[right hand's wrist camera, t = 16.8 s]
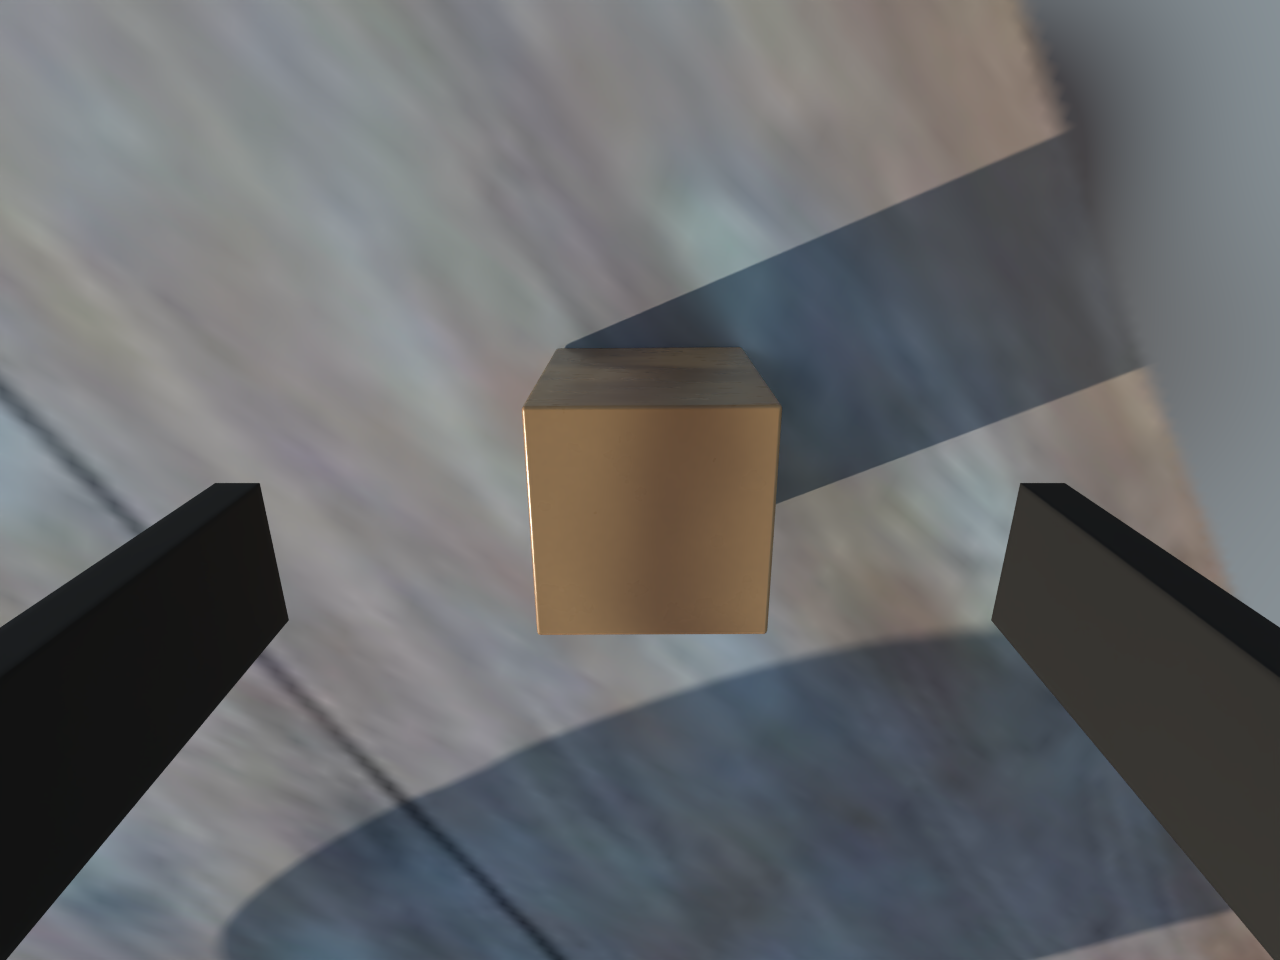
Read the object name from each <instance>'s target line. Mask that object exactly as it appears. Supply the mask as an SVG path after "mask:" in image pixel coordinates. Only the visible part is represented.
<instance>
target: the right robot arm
mask: <svg viewBox="0 0 1280 960" xmlns="http://www.w3.org/2000/svg"><path fill="white" fill-rule="evenodd" d="M288 620H289V619H288V615H287V610H286V605H285V600H284V596H283V591H282V586H281V582H280V577H279V572H278V567H277V563H276V558H275V553H274V549H273V544H272V539H271V534H270V530H269V525H268V520H267V516H266V511H265V506H264V501H263V497H262V492H261V487H260V483H215V484H213V485H212V486H210V487H209V488H207V489H206V490H204V491H203V492H201V493H200V494H198V495H197V496H195V497H194V498H192V499H191V500H190V501H188V502H187V503H185V504H184V505H182V506H181V507H179V508H178V509H176V510H175V511H173V512H172V513H170V514H169V515H167V516H166V517H164V518H163V519H161V520H160V521H158V522H157V523H155V524H154V525H152V526H151V527H149V528H148V529H146V530H145V531H143V532H142V533H140V534H139V535H137V536H136V537H134V538H133V539H131V540H130V541H128V542H127V543H125V544H124V545H122V546H121V547H120V548H118V549H117V550H115V551H114V552H112V553H111V554H109V555H108V556H106V557H105V558H103V559H102V560H100V561H99V562H97V563H96V564H94V565H93V566H91V567H90V568H88V569H87V570H85V571H84V572H82V573H81V574H79V575H78V576H76V577H75V578H73V579H72V580H70V581H69V582H67V583H66V584H64V585H63V586H61V587H60V588H58V589H57V590H55V591H54V592H52V593H51V594H50V595H48V596H47V597H45V598H44V599H42V600H41V601H39V602H38V603H36V604H35V605H33V606H32V607H30V608H29V609H27V610H26V611H24V612H23V613H21V614H20V615H18V616H17V617H15V618H14V619H12V620H11V621H9V622H8V623H6V624H5V625H3V626H2V627H0V960H6V959H7V958H8V957H9V956H10V955H11V953H12V952H13V951H14V950H15V949H16V947H17V946H18V945H19V944H20V942H21V941H22V940H23V939H24V938H25V936H26V935H27V934H28V933H29V932H30V930H31V929H32V928H33V927H34V926H35V924H36V923H37V922H38V921H39V920H40V918H41V917H42V916H43V915H44V914H45V912H46V911H47V910H48V909H49V908H50V906H51V905H52V904H53V903H54V902H55V900H56V899H57V898H58V897H59V896H60V894H61V893H62V892H63V891H64V890H65V888H66V887H67V886H68V885H69V884H70V882H71V881H72V880H73V879H74V878H75V876H76V875H77V874H78V873H79V872H80V870H81V869H82V868H83V867H84V866H85V864H86V863H87V862H88V861H89V860H90V858H91V857H92V856H93V855H94V854H95V852H96V851H97V850H98V849H99V848H100V846H101V845H102V844H103V843H104V842H105V840H106V839H107V838H108V837H109V836H110V834H111V833H112V832H113V831H114V830H115V828H116V827H117V826H118V825H119V824H120V822H121V821H122V820H123V819H124V818H125V816H126V815H127V814H128V813H129V811H130V810H131V809H132V808H133V807H134V805H135V804H136V803H137V802H138V801H139V799H140V798H141V797H142V796H143V795H144V793H145V792H146V791H147V790H148V789H149V787H150V786H151V785H152V784H153V783H154V781H155V780H156V779H157V778H158V777H159V775H160V774H161V773H162V772H163V771H164V769H165V768H166V767H167V766H168V765H169V763H170V762H171V761H172V760H173V759H174V757H175V756H176V755H177V754H178V753H179V751H180V750H181V749H182V748H183V747H184V745H185V744H186V743H187V742H188V741H189V739H190V738H191V737H192V736H193V735H194V733H195V732H196V731H197V730H198V729H199V727H200V726H201V725H202V724H203V723H204V721H205V720H206V719H207V718H208V717H209V715H210V714H211V713H212V712H213V711H214V709H215V708H216V707H217V706H218V705H219V703H220V702H221V701H222V700H223V699H224V697H225V696H226V695H227V694H228V693H229V691H230V690H231V689H232V688H233V687H234V685H235V684H236V683H237V682H238V681H239V679H240V678H241V677H242V676H243V674H244V673H245V672H246V671H247V670H248V668H249V667H250V666H251V665H252V664H253V662H254V661H255V660H256V659H257V658H258V656H259V655H260V654H261V653H262V652H263V650H264V649H265V648H266V647H267V646H268V644H269V643H270V642H271V641H272V640H273V638H274V637H275V636H276V635H277V634H278V632H279V631H280V630H281V629H282V628H283V626H284V625H285V624H286V623H287V622H288ZM991 620H992V622H993V623H994V624H995V625H996V626H997V628H998V629H999V630H1000V631H1001V632H1002V634H1003V635H1004V636H1005V637H1006V638H1007V640H1008V641H1009V642H1010V643H1011V644H1012V646H1013V647H1014V648H1015V649H1016V650H1017V652H1018V653H1019V654H1020V655H1021V656H1022V658H1023V659H1024V660H1025V661H1026V662H1027V664H1028V665H1029V666H1030V667H1031V668H1032V670H1033V671H1034V672H1035V673H1036V675H1037V676H1038V677H1039V678H1040V679H1041V681H1042V682H1043V683H1044V684H1045V685H1046V687H1047V688H1048V689H1049V690H1050V691H1051V693H1052V694H1053V695H1054V696H1055V697H1056V699H1057V700H1058V701H1059V702H1060V703H1061V705H1062V706H1063V707H1064V708H1065V709H1066V711H1067V712H1068V713H1069V714H1070V715H1071V717H1072V718H1073V719H1074V720H1075V721H1076V723H1077V724H1078V725H1079V726H1080V727H1081V729H1082V730H1083V731H1084V732H1085V733H1086V735H1087V736H1088V737H1089V738H1090V739H1091V741H1092V742H1093V743H1094V744H1095V745H1096V747H1097V748H1098V749H1099V750H1100V751H1101V753H1102V754H1103V755H1104V756H1105V757H1106V759H1107V760H1108V761H1109V762H1110V763H1111V765H1112V766H1113V767H1114V768H1115V769H1116V771H1117V772H1118V773H1119V774H1120V775H1121V777H1122V778H1123V779H1124V780H1125V781H1126V783H1127V784H1128V785H1129V786H1130V787H1131V789H1132V790H1133V791H1134V792H1135V793H1136V795H1137V796H1138V797H1139V798H1140V799H1141V801H1142V802H1143V803H1144V804H1145V805H1146V807H1147V808H1148V809H1149V810H1150V812H1151V813H1152V814H1153V815H1154V816H1155V818H1156V819H1157V820H1158V821H1159V822H1160V824H1161V825H1162V826H1163V827H1164V828H1165V830H1166V831H1167V832H1168V833H1169V834H1170V836H1171V837H1172V838H1173V839H1174V840H1175V842H1176V843H1177V844H1178V845H1179V846H1180V848H1181V849H1182V850H1183V851H1184V852H1185V854H1186V855H1187V856H1188V857H1189V858H1190V860H1191V861H1192V862H1193V863H1194V864H1195V866H1196V867H1197V868H1198V869H1199V870H1200V872H1201V873H1202V874H1203V875H1204V876H1205V878H1206V879H1207V880H1208V881H1209V882H1210V884H1211V885H1212V886H1213V887H1214V888H1215V890H1216V891H1217V892H1218V893H1219V894H1220V896H1221V897H1222V898H1223V899H1224V900H1225V902H1226V903H1227V904H1228V905H1229V906H1230V908H1231V909H1232V910H1233V911H1234V912H1235V914H1236V915H1237V916H1238V917H1239V918H1240V920H1241V921H1242V922H1243V923H1244V924H1245V926H1246V927H1247V928H1248V929H1249V930H1250V932H1251V933H1252V934H1253V935H1254V936H1255V938H1256V939H1257V940H1258V941H1259V942H1260V944H1261V945H1262V946H1263V947H1264V949H1265V950H1266V951H1267V952H1268V953H1269V955H1270V956H1271V957H1272V958H1273V959H1274V960H1280V627H1278V626H1277V625H1275V624H1274V623H1272V622H1271V621H1269V620H1268V619H1266V618H1265V617H1263V616H1262V615H1260V614H1259V613H1257V612H1256V611H1254V610H1253V609H1251V608H1250V607H1248V606H1247V605H1245V604H1244V603H1242V602H1241V601H1239V600H1238V599H1236V598H1235V597H1233V596H1232V595H1230V594H1229V593H1228V592H1226V591H1225V590H1223V589H1222V588H1220V587H1219V586H1217V585H1216V584H1214V583H1213V582H1211V581H1210V580H1208V579H1207V578H1205V577H1204V576H1202V575H1201V574H1199V573H1198V572H1196V571H1195V570H1193V569H1192V568H1190V567H1189V566H1187V565H1186V564H1184V563H1183V562H1181V561H1180V560H1178V559H1177V558H1175V557H1174V556H1172V555H1171V554H1169V553H1168V552H1166V551H1165V550H1163V549H1162V548H1160V547H1159V546H1158V545H1156V544H1155V543H1153V542H1152V541H1150V540H1149V539H1147V538H1146V537H1144V536H1143V535H1141V534H1140V533H1138V532H1137V531H1135V530H1134V529H1132V528H1131V527H1129V526H1128V525H1126V524H1125V523H1123V522H1122V521H1120V520H1119V519H1117V518H1116V517H1114V516H1113V515H1111V514H1110V513H1108V512H1107V511H1105V510H1104V509H1102V508H1101V507H1099V506H1098V505H1096V504H1095V503H1093V502H1092V501H1090V500H1089V499H1088V498H1086V497H1085V496H1083V495H1082V494H1080V493H1079V492H1077V491H1076V490H1074V489H1073V488H1071V487H1070V486H1068V485H1067V484H1065V483H1020V487H1019V492H1018V497H1017V501H1016V506H1015V511H1014V516H1013V520H1012V525H1011V530H1010V534H1009V539H1008V544H1007V549H1006V553H1005V558H1004V563H1003V567H1002V572H1001V577H1000V582H999V586H998V591H997V596H996V600H995V605H994V610H993V614H992V619H991Z"/></svg>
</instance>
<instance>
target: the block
mask: <svg viewBox="0 0 1280 960" xmlns="http://www.w3.org/2000/svg"><path fill="white" fill-rule="evenodd" d="M781 418H782V406H781V404H780V403H779V401H778V400H777V399H776V397H775V396H774V394H773V393H772V391H771V390H770V388H769V387H768V385H767V384H766V383H765V381H764V380H763V378H762V377H761V375H760V374H759V372H758V371H757V369H756V368H755V367H754V365H753V364H752V362H751V361H750V359H749V358H748V356H747V355H746V353H745V352H744V351H743V349H742V348H740V347H718V348H561V349H557V350H556V351H555V353H554V355H553V356H552V358H551V360H550V362H549V363H548V365H547V367H546V368H545V370H544V372H543V373H542V375H541V377H540V379H539V380H538V382H537V384H536V385H535V387H534V389H533V390H532V392H531V394H530V396H529V397H528V399H527V401H526V402H525V404H524V406H523V408H522V419H523V433H524V448H525V462H526V476H527V491H528V505H529V520H530V534H531V549H532V563H533V577H534V592H535V606H536V621H537V632H538V634H540V635H577V634H765V633H766V632H767V625H768V611H769V596H770V581H771V566H772V551H773V537H774V522H775V507H776V492H777V477H778V462H779V448H780V433H781Z"/></svg>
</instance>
